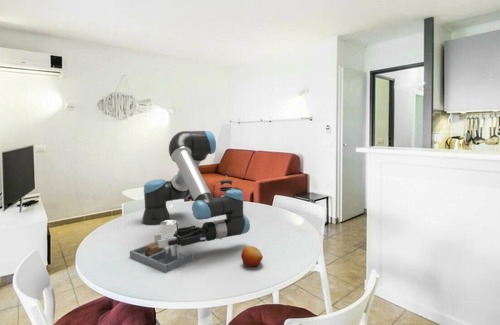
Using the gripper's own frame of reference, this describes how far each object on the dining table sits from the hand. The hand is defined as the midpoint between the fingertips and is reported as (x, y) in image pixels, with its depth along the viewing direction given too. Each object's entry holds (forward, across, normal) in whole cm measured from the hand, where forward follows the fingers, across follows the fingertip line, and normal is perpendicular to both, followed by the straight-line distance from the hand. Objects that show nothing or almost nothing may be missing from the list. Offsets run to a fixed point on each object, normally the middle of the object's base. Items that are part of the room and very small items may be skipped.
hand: (156, 241), depth 109 cm
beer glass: (-5, 0, -9) cm, 10 cm away
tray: (-3, +5, -10) cm, 11 cm away
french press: (-60, +71, -10) cm, 94 cm away
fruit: (-31, -18, -10) cm, 37 cm away
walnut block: (0, +10, -9) cm, 14 cm away
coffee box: (-55, +46, -10) cm, 73 cm away
